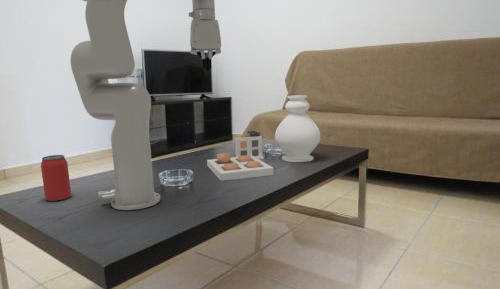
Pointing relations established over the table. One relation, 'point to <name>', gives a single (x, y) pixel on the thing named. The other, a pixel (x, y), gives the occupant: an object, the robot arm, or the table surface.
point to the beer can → (55, 178)
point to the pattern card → (249, 146)
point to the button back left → (223, 158)
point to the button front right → (253, 164)
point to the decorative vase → (297, 131)
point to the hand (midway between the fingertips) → (206, 70)
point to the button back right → (244, 158)
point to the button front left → (230, 166)
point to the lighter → (254, 134)
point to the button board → (239, 169)
